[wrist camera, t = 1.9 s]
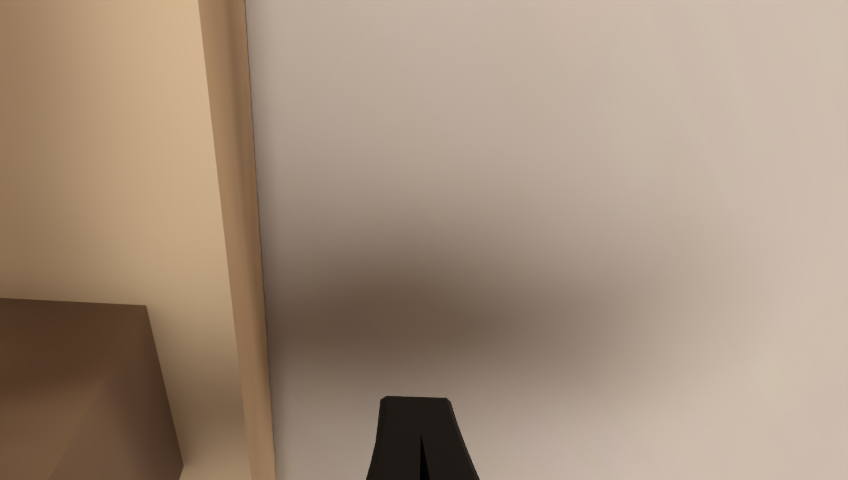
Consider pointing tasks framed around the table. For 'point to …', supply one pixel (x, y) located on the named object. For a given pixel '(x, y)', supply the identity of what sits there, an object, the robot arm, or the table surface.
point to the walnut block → (82, 394)
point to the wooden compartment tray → (145, 198)
